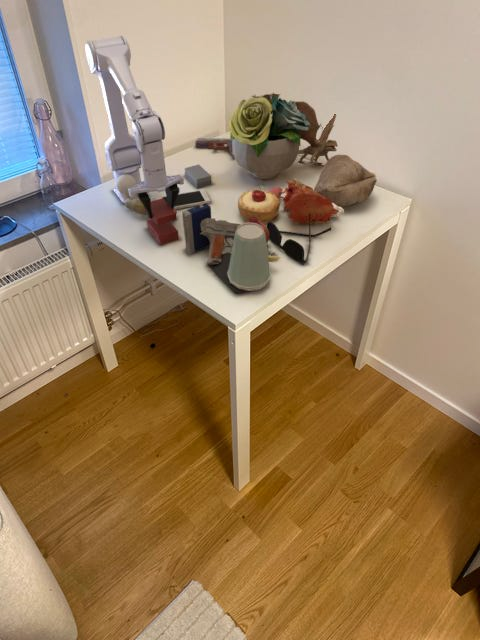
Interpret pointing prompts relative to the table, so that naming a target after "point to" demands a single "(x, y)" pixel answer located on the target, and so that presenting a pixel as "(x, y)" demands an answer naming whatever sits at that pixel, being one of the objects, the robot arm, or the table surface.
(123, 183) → the light bulb
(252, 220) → the fruit
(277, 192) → the figurine
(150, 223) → the oxblood stack
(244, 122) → the flower arrangement
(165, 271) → the table surface
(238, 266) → the disposable coffee cup
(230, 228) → the pistol
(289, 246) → the sunglasses
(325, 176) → the seashell
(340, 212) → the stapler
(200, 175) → the grey stack
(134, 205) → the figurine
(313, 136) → the dragon
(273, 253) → the toy
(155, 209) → the oxblood book
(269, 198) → the pastry
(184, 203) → the smartphone
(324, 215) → the seashell
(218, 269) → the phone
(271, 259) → the fox
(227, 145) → the handgun
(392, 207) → the table surface
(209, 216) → the cassette player
